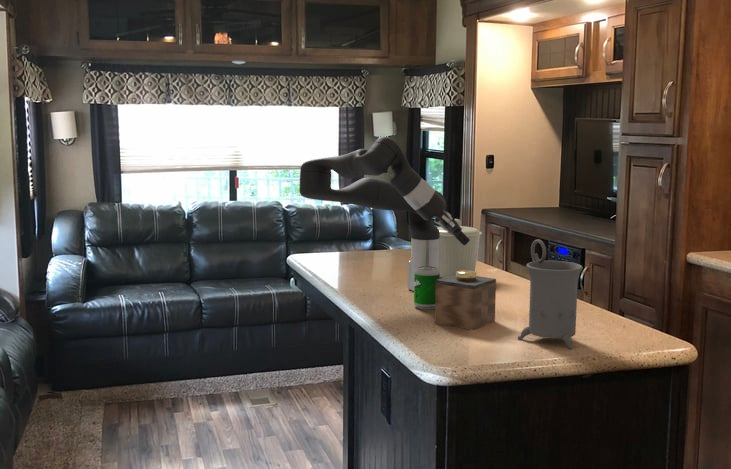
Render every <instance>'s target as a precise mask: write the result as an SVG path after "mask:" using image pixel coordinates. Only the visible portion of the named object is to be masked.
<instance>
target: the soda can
mask: <svg viewBox="0 0 731 469" xmlns="http://www.w3.org/2000/svg"><path fill="white" fill-rule="evenodd" d="M437 279H441V278H440V271H439V270H438V269H437V267H433V266H420V267H417V269H416V270H415V271H414V291H413V304H414V306H415V307H416V308H417V309H419V310H427V311H428V310H435V291H436V280H437Z"/></svg>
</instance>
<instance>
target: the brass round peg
mask: <svg viewBox="0 0 731 469" xmlns="http://www.w3.org/2000/svg"><path fill="white" fill-rule="evenodd" d="M476 276H478V275H477V271H476V270H475V271H469V270H461V271H456V280H458V281H476Z"/></svg>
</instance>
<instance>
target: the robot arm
mask: <svg viewBox="0 0 731 469" xmlns="http://www.w3.org/2000/svg"><path fill="white" fill-rule="evenodd" d="M390 167H391V169H392V170H391V171H392V172H391V175H390V178H389V181H388V180H384V179H380V178H376V177H377V176H381V175H382V174H385V172H387V171H388V169H389V168H390ZM332 171H334V172H335V173H336V174H338V175H339V176H340V177H342V178H344V179H357V178H360V177H362V176H365V175H366V176H367V177H362V178H360V179H358V180H356V181H355V182H352V183H350V184H349V185H347V186H345V187H343V188H339V189H334V188H332ZM369 176H372V177H369ZM373 176H375V177H373ZM299 194H300V196H301V197H303V198H305V199H309V200H316V201H326V202H335V203H344V204H350V205H355V206H359V207H364V208H368V209H374V210H380V211H381V210H383V211H392V212H396V211H397V212H408V228H409V231H410V234H411V235H410V236H411V238H410V242H411V244H410V247H411V249H410V251H411V252H410V260H408V266H407V268H408V269H407V272H408V273H407V275H408V276H407V290H411V291H412V292H414V271H415V270H416V269H417V267H420V266H433V267H437V269H438V270H439V242H440V232H439V229H438V228H437V226H436V225H435V224H434V223H436V224H437V225H439V227H442V228H443V229H444V230H445V231H448V233H451V235H453V236H454V237H455V238H456V239H457V240H458V241H459V242H460V243H461V244H463V245H466V244H467V243H468V242H469V241H470V240H469V238H468V237H467V236H466V235H465V234H464V233H463V232H462V229H461V228H460V226H461V225H460V226H459V225H458V224H457V222H456V221H455V219H456V218H453V217H452V215H451V213H449V212H448V211H447V210H446V208H447V201H446V198H445V197H444V195H443V194H442V193H441V192H440V191H438V190H436V189H434V187H432V186H431V184H429V182H427V181H426V180H424V179H423V178H422V177H421V176H420V175H419V173H418V172H416V170H415V169H413V168H412V167H411V165H410V162H409V161H408V159H407V157H406V155H405V153H404V151H403V150H402V149H401V146H400V145H399V144H398V143H397V141H395V140H394V139H393V138H392V137H389V136H384V135H383V136H380V137H378V138H377V139H376V140H375V141H374V142H373V144H372V145H371V146H370V147H369V149H366V148H360V149H357V150H355V151H352V152H349V153H345V154H341V155H338V156H337V155H335V156H328V157H322V158H321V157H320V158H317V159H310V160H306V161H305V162H303V163H302V164H301V166H300V170H299ZM433 219H434V220H433Z"/></svg>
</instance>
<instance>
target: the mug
mask: <svg viewBox="0 0 731 469" xmlns="http://www.w3.org/2000/svg"><path fill="white" fill-rule="evenodd" d="M537 244H540V245H539V246H540V247H541V250H542V255H541V258H540V257H539V254H538V253H537V252H536V250H535V249H536V246H537ZM535 252H536V253H535ZM530 256H531V259H532V261H531V262H528V263H526V268H527V270H528V274H529V281H530V282H529V283H530V284H529V286H530V287H529V288H530V289H529V317H528V318H529V319H528V326H526V327H524V328H523V329H522V330H521V333H520V336H519V335H518V336H517V339H518V340H523V339H524V338H525V337H527V336H528V335H533V336H536V337H540V338H546V339H547V338H548V339H562V341H563V342H564V343H565V345H566V346H567V348H568V349H569V350H573V348H574V347H573V346H572V337H574V336H576V330H577V329H576V328H577V327H576V326H577V305H578V304H577V302H578V284H579V278H580V274H581V272H582V270H583V268H584V267H583V265H581V264H579V263H576V262H572V261H570V262H569V261H563V260H562V261H561V260H546V257H547V247H546V244H545V243H544V241H543V240H541V239H538V238H537V239H535V240H533V242H531V246H530Z"/></svg>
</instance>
